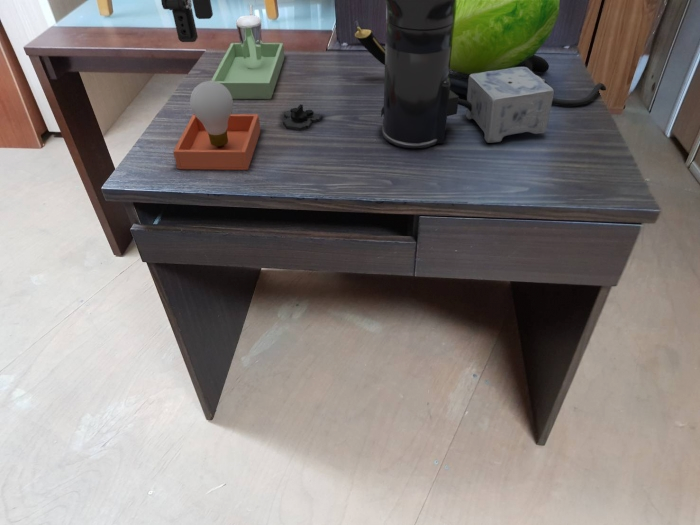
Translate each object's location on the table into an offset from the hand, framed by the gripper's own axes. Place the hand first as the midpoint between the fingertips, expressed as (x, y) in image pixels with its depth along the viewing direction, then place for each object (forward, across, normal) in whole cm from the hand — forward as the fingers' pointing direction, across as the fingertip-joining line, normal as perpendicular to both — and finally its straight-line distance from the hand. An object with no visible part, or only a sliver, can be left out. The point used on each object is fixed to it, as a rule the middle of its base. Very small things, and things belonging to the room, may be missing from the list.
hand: (197, 29), depth 71 cm
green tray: (+18, +26, 0) cm, 32 cm away
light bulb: (+18, 0, 0) cm, 18 cm away
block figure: (+18, +9, -11) cm, 23 cm away
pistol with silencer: (+8, +18, -29) cm, 35 cm away
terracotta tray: (+18, 0, 0) cm, 18 cm away
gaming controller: (+18, +24, -50) cm, 59 cm away
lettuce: (+9, +14, -42) cm, 45 cm away
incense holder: (+19, +8, -43) cm, 48 cm away
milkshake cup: (+17, +31, 0) cm, 35 cm away
